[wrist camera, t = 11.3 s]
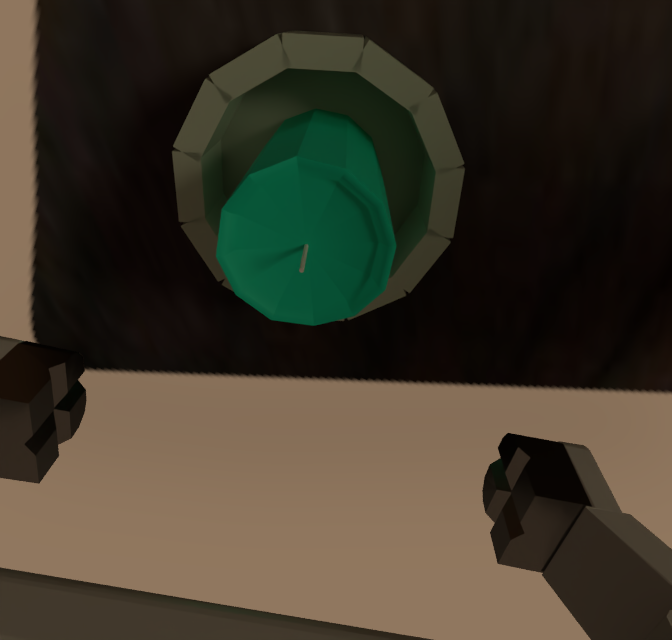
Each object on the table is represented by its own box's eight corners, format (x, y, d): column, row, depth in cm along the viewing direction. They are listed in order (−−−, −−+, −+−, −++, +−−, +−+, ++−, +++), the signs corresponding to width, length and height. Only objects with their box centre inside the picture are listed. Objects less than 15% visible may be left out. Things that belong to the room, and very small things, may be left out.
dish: (494, 132, 26) (522, 154, 22) (354, 314, 31) (355, 360, 27) (278, -30, 23) (262, -41, 19) (163, 202, 28) (130, 233, 24)
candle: (402, 143, 26) (438, 228, 15) (347, 246, 28) (345, 378, 18) (290, 85, 25) (245, 132, 14) (243, 198, 27) (177, 309, 17)
